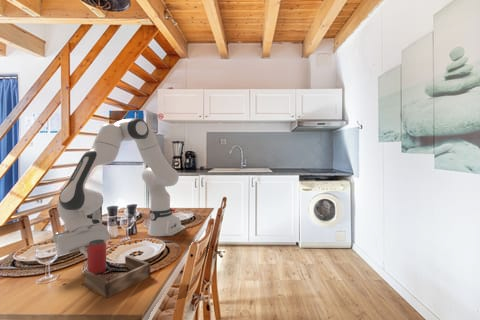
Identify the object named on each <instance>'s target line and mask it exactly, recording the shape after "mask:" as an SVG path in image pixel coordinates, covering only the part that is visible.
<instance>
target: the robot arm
mask: <svg viewBox="0 0 480 320" xmlns="http://www.w3.org/2000/svg"><path fill="white" fill-rule="evenodd" d="M123 141H124V142H127V141H128V142H129V141H135V143H136V146H137V149H138V152H139V154H140V156H141V159H142V161H143V163H144V164H146V165H147V167H146V168H144V169H143V171H142V172H141V173H142V174H141V178H142V180H143V182H144V183H145V185H146V187H147V189H148V194H149V201H150V203H149V205H150V206H149V207H150V209H149V226H148V231H147V235H148V236H151V237H169V236H171V237H172V236H174V235H175V234H178V233H179V232H182V231H183V230H185V229H186V226H184V225H182V222H181V219H180V218H179V217H178V216H177V215H175V214H173V212H176V208H175V207H171V196H170V193H169V192H168V191H167V189H166V187H167V188H168V187H171V186H175V185H177V184H178V181H179V177H180V176H179V172H178V170H176V169H175V168H173V166H171V164H170V163H169V162H168V160H167V159H166V158H165V156H164V154H163V152H162V149H161V146H160V144H159V142H158V139H157V136H156V135H155V132H154V131H153V130H152V128H151V127H150V126H148V124H147V123H146V121H145V120H143V119H142V118H138V117H132V118H125V119H120V120H115V121H114V122H112V123H106V124H103V125H102V126H101V127H100V129H99V130H98V133H97V134H96V136H95V139H94V141H93V144H92V146H91V148H90V149H89V150H88V151H85V153H84V154H83V155H82V156H81V158H80V159H79V161H78V163H77V165H76V167H75V168H74V171H73V172H72V175H71V176H70V177H69V178H70V179H69V180H68V182H67V183H66V185H65V186H64V187H63V189H62V190H61V192H60V193H59V195H58V196H59V197H58V201H57V206H56V207H57V212H58V215H59V218H60V219H61V221H62V222H63V223H64V224H63V226H64V231H61V232H56V233H55V234H54V235H52V239H51V240H52V241H53V243H54V246H55V251H56V253H57V255H58V256H64V255H67V254H71V253H75V252H77V251H79V252H80V253H82V254H83V255H85V258H87V259H88V246H89V242H91V241H93V240H104V241H105V243H107V242H108V241H109V240H110V238H111V234H110V232H109V230H108V228H107V226H105V225H104V224H103V219H102V220H100V219H89V218H87V215H90V214H92V213H94V212H95V211H97V210H98V209H100V207H101V206H103V203H104V197H103V194H102V193H100V191H96V190H93V189H89V188H86V187H85V186H86V183H87V182H88V180H89V177H90V175H91V173H92V170H94V169H95V168H97V167H98V166H106V165H110V164H112V163H114V162H115V160H116V159H117V157H118V154H119V151H120V147H121V143H122V142H123Z"/></svg>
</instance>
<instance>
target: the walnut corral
mask: <svg viewBox="0 0 480 320" xmlns="http://www.w3.org/2000/svg"><path fill="white" fill-rule="evenodd" d="M124 259H125V260H124V264H125V263H126V267H127V268H128V269H130V270H129V271H127V272H125V273H122V274H121V275H119V276H117V277H116V276H115V278H112V279H110V280H108V279H106V278H103V277H101V276H99V275H98V274H93V273H91V272H89V271H88V270H87V271H85V272H84V286H85V288H88V289H90V290H92V291H93V292H95V293H97V294H99V295H101V296H103V297H105V298H106V299H108V298H111V297H112V296H115V295H117V294H119V293H120V292H122V291H124V290H126V289H129V288H130V287H132V286H134V285H136V284H138V283H140V282H142V281H144V280H146V279H148V278H149V277H151V263H150V262H147V261H145V260H141V259H138V258H137V257H133V256H131V255H126V256H125V257H124ZM128 269H127V270H128Z"/></svg>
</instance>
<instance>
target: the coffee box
mask: <svg viewBox="0 0 480 320" xmlns="http://www.w3.org/2000/svg"><path fill="white" fill-rule="evenodd" d="M102 206H103V205H102ZM102 206H101V207H100V209H98V210H97V211H95V212H94V213H92V214H90V215H87V218H89V219H100V220H102V221H103V211H102V209H103V207H102Z"/></svg>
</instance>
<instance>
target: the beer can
mask: <svg viewBox="0 0 480 320" xmlns="http://www.w3.org/2000/svg"><path fill="white" fill-rule="evenodd" d="M87 251H88V258H87V271H89V272H91V273H93V274H95V275H98V274H102V273H103V272H105V271H106V269H107V244H106V242H105V241H104V240H93V241H91V242H89V246H88V248H87Z"/></svg>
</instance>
